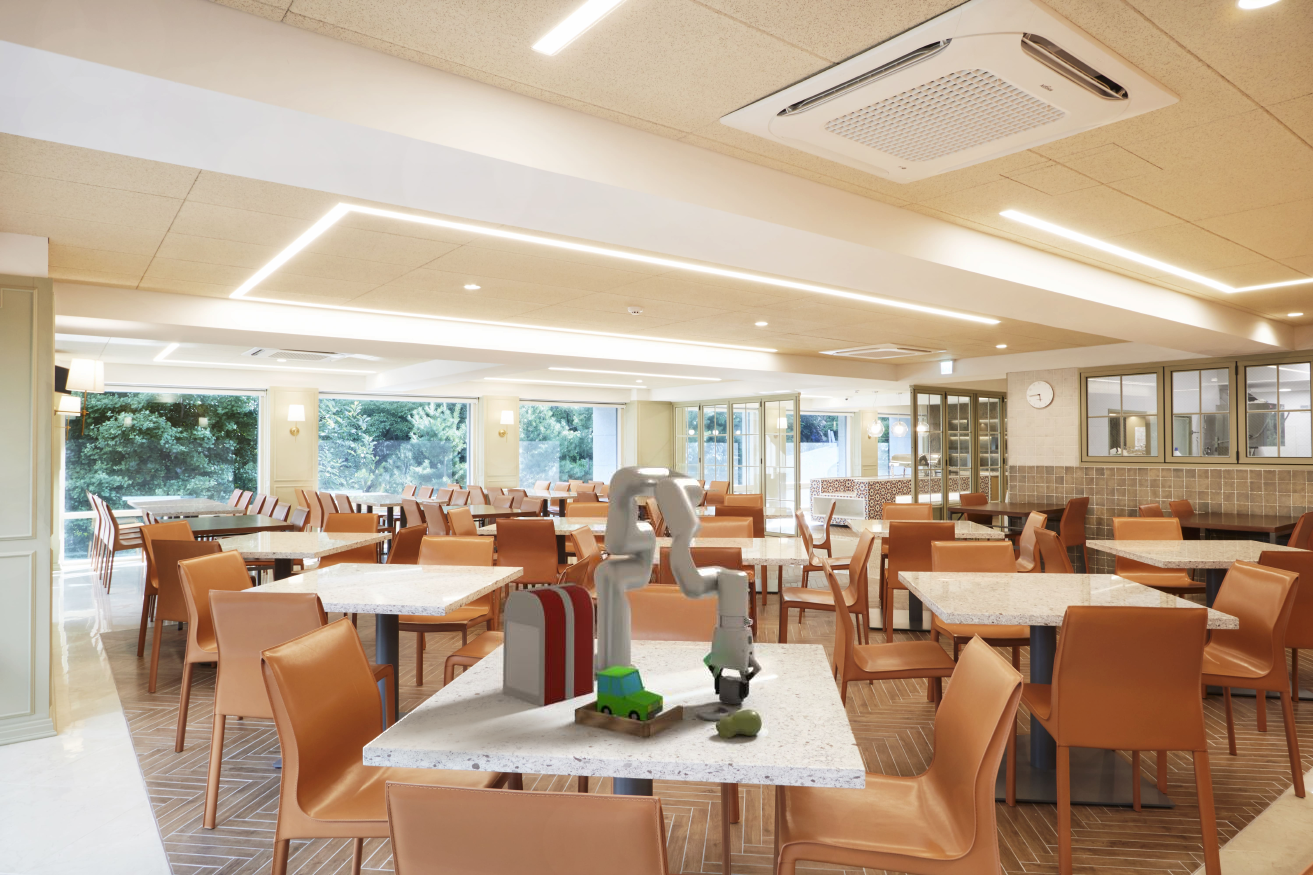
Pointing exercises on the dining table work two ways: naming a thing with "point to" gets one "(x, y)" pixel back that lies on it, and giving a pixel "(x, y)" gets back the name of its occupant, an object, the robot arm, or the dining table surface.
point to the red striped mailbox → (549, 644)
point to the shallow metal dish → (711, 713)
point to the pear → (739, 724)
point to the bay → (627, 721)
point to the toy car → (626, 694)
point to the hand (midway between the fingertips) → (731, 694)
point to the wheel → (730, 689)
